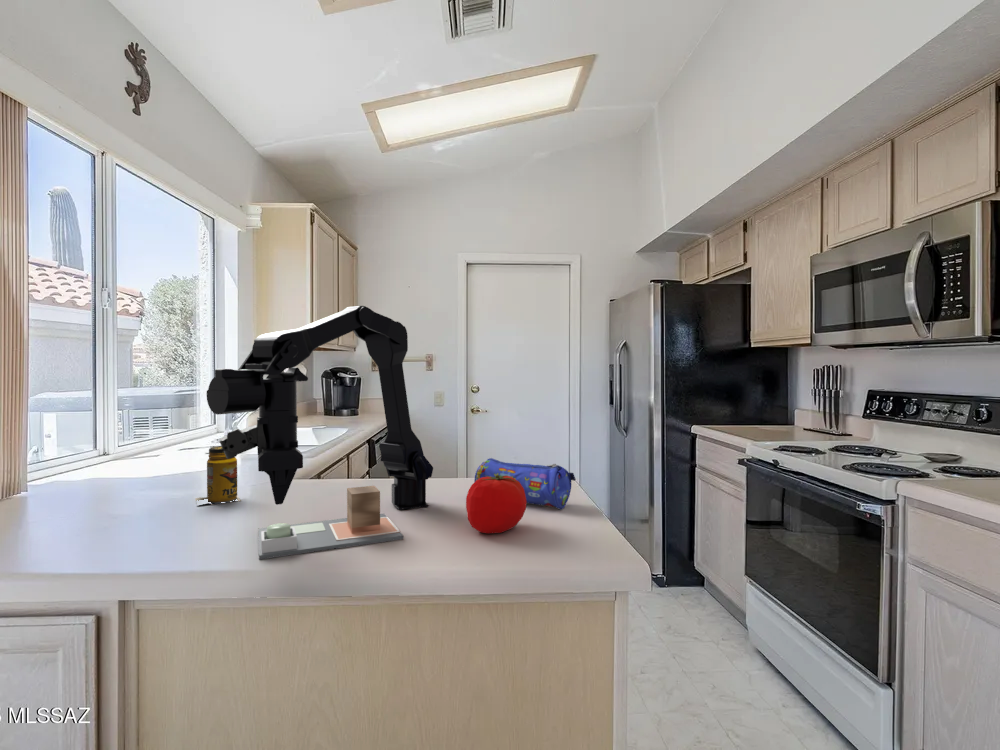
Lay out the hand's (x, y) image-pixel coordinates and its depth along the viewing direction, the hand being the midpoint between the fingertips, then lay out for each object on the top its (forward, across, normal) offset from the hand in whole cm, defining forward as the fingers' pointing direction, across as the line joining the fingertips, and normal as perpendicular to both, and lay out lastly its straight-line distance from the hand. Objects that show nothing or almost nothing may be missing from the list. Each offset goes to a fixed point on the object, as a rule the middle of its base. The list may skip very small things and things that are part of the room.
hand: (278, 503), depth 87 cm
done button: (+6, 0, 0) cm, 6 cm away
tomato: (+8, +6, +37) cm, 38 cm away
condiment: (+8, -40, -11) cm, 42 cm away
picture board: (+8, -4, +8) cm, 12 cm away
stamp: (+7, -4, +14) cm, 16 cm away
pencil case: (+8, -10, +50) cm, 52 cm away
